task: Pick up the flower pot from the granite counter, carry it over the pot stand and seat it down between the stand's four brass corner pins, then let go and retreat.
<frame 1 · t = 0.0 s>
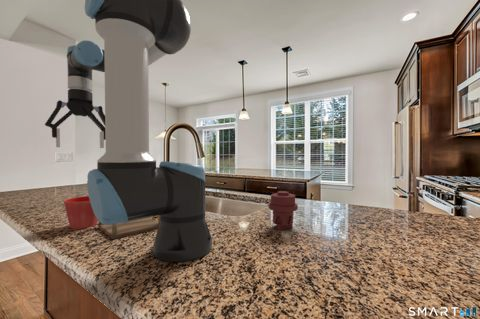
hand: (81, 147, 84), 28 cm above the countertop, fingers open, 13 cm apart
flower pot: (83, 226, 80), on the countertop
mechanical component: (282, 227, 78), on the countertop
pot stand: (130, 227, 78), on the countertop
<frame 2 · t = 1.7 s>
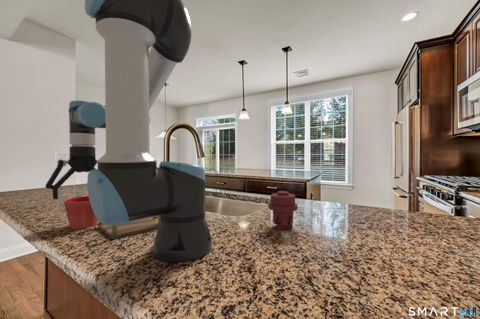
hand: (83, 205, 80), 7 cm above the countertop, fingers open, 13 cm apart
nothing on the countertop moved.
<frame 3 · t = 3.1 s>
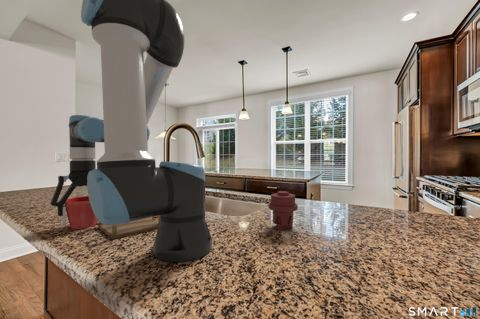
hand: (83, 221, 80), 1 cm above the countertop, fingers closed on flower pot, 10 cm apart
flower pot: (83, 226, 80), on the countertop, touching gripper
everything else where it was.
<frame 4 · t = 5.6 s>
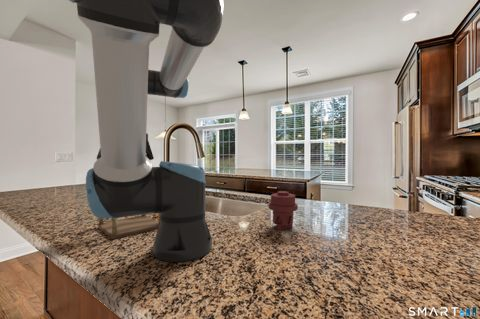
hand: (127, 180, 77), 16 cm above the countertop, fingers closed on flower pot, 10 cm apart
flower pot: (127, 185, 77), point 15 cm above the countertop, touching gripper
everything else where it was.
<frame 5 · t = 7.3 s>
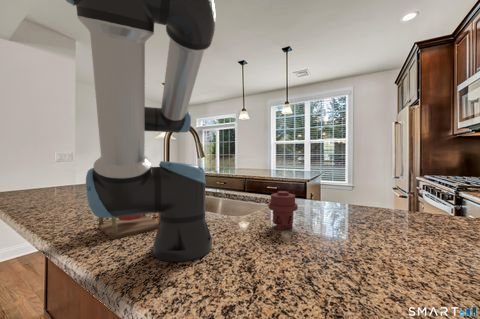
hand: (130, 213, 78), 5 cm above the countertop, fingers closed on flower pot, 10 cm apart
flower pot: (130, 218, 78), point 3 cm above the countertop, touching gripper
everything else where it was.
when the fingers open (4 cm above the countertop, at t = 8.4 s): flower pot drops 1 cm, resting on pot stand.
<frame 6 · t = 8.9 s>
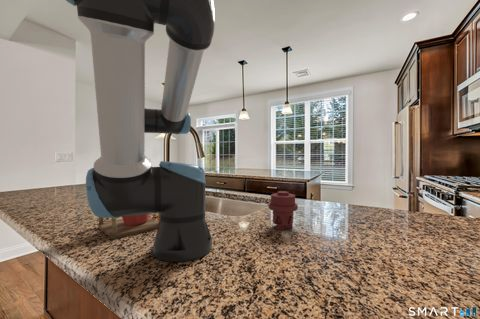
hand: (130, 212, 78), 5 cm above the countertop, fingers open, 13 cm apart
flower pot: (136, 222, 79), point 1 cm above the countertop, touching gripper, pot stand
everything else where it was.
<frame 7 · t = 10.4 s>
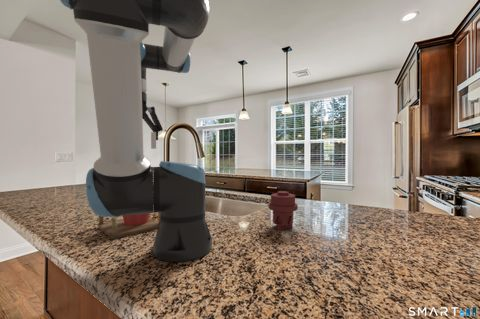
hand: (136, 148, 84), 28 cm above the countertop, fingers open, 13 cm apart
flower pot: (136, 223, 79), point 1 cm above the countertop, touching pot stand
everything else where it was.
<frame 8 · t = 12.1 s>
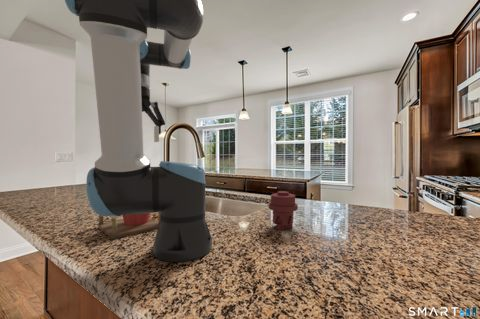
hand: (140, 141, 88), 31 cm above the countertop, fingers open, 13 cm apart
nothing on the countertop moved.
at the end: flower pot 2.0 cm off-centre on the pot stand, point 1.0 cm above the pot stand's base; flower pot tilted 0°; the gripper is holding nothing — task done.
